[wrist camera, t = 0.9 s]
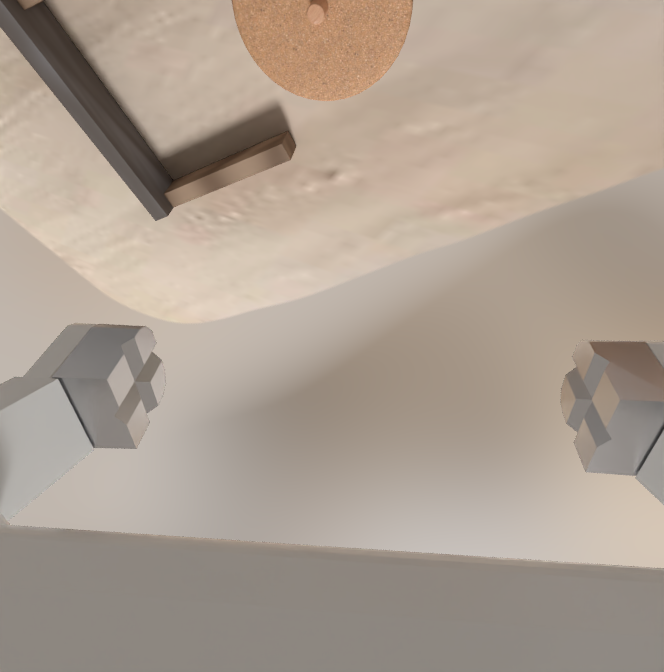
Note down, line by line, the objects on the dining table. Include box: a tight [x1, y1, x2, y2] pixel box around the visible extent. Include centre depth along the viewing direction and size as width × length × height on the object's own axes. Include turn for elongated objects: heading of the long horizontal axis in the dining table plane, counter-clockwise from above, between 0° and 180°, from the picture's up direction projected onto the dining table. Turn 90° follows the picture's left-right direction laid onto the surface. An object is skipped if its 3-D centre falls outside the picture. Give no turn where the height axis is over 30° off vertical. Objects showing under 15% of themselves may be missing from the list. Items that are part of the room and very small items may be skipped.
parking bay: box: [0, 0, 296, 221], centre depth 39 cm, size 14×19×4 cm
